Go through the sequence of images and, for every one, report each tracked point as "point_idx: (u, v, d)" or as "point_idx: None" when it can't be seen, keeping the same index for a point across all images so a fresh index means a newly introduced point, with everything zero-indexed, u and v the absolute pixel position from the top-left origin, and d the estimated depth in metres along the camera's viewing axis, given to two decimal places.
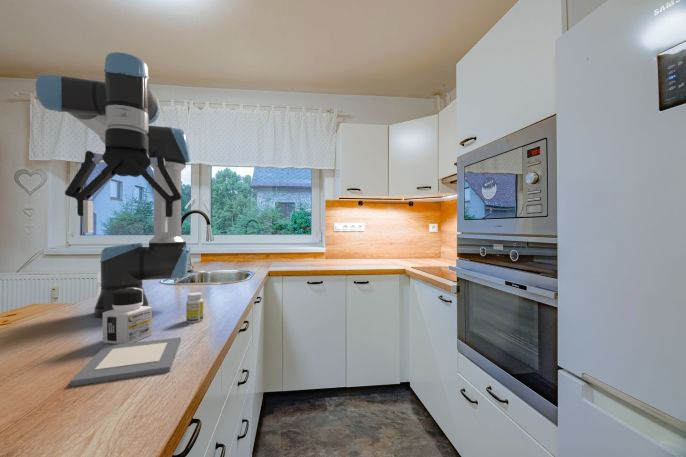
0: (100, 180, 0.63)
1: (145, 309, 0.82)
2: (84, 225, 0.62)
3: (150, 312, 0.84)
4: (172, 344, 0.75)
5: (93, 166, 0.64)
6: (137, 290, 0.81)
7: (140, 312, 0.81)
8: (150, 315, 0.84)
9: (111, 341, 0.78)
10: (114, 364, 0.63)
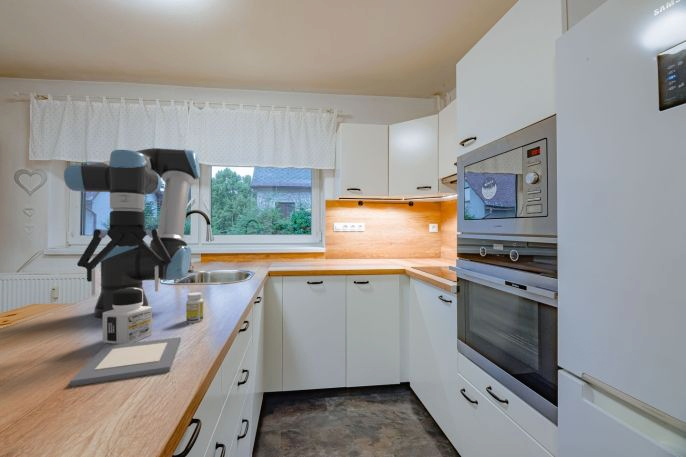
0: (105, 252, 0.78)
1: (145, 309, 0.82)
2: (92, 289, 0.77)
3: (150, 312, 0.84)
4: (172, 344, 0.75)
5: (99, 240, 0.79)
6: (137, 290, 0.81)
7: (140, 312, 0.81)
8: (150, 315, 0.84)
9: (111, 341, 0.78)
10: (114, 364, 0.63)
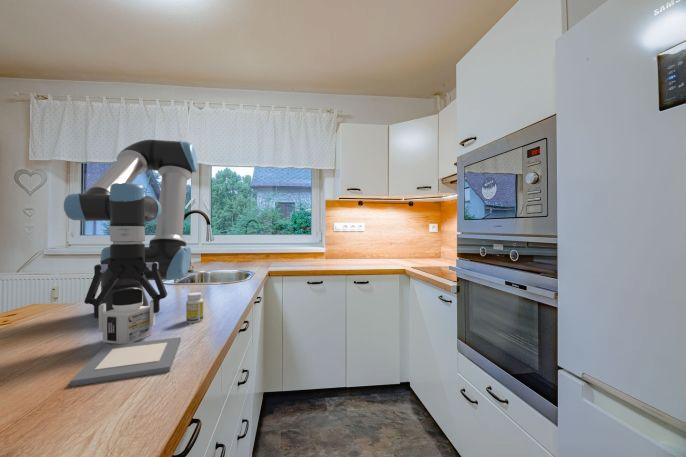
0: (109, 287, 0.79)
1: (145, 309, 0.82)
2: (99, 326, 0.78)
3: None
4: (172, 344, 0.75)
5: (101, 274, 0.79)
6: (137, 290, 0.81)
7: (140, 312, 0.81)
8: None
9: (111, 341, 0.78)
10: (114, 364, 0.63)
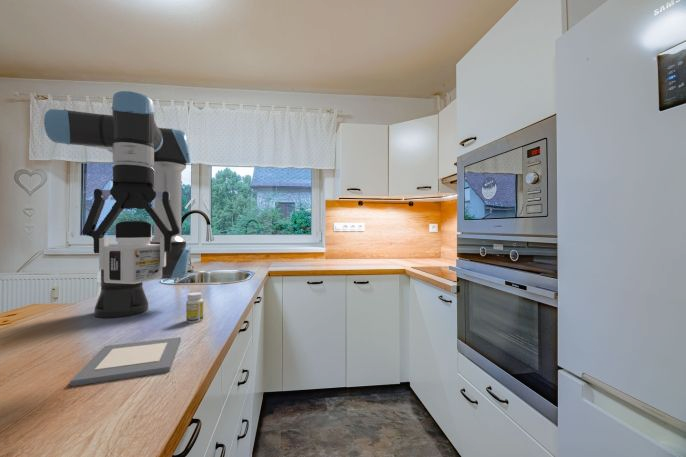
0: (112, 216, 0.66)
1: (154, 246, 0.69)
2: (100, 262, 0.65)
3: None
4: (172, 344, 0.75)
5: (103, 202, 0.66)
6: (145, 222, 0.68)
7: (149, 248, 0.67)
8: None
9: (114, 280, 0.65)
10: (114, 364, 0.63)
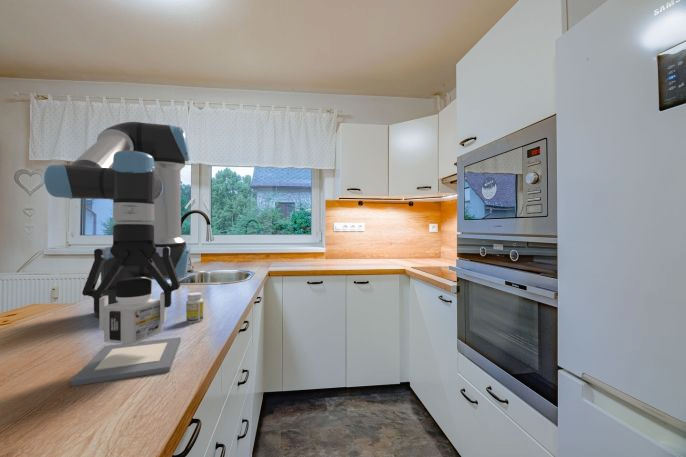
0: (112, 275, 0.66)
1: (155, 302, 0.69)
2: (100, 322, 0.65)
3: None
4: (172, 344, 0.75)
5: (103, 261, 0.66)
6: (145, 279, 0.68)
7: (149, 306, 0.67)
8: None
9: (114, 340, 0.65)
10: (114, 364, 0.63)
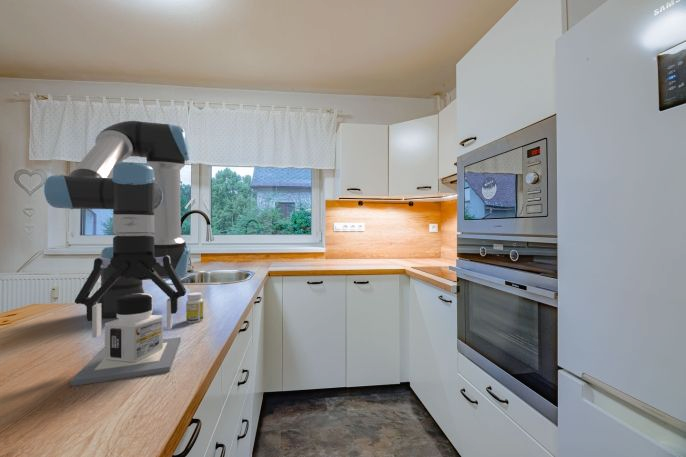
0: (108, 285, 0.66)
1: (155, 319, 0.69)
2: (93, 330, 0.64)
3: (161, 322, 0.71)
4: (172, 344, 0.75)
5: (101, 270, 0.66)
6: (146, 296, 0.68)
7: (149, 323, 0.68)
8: (161, 326, 0.71)
9: (115, 358, 0.65)
10: (114, 364, 0.63)
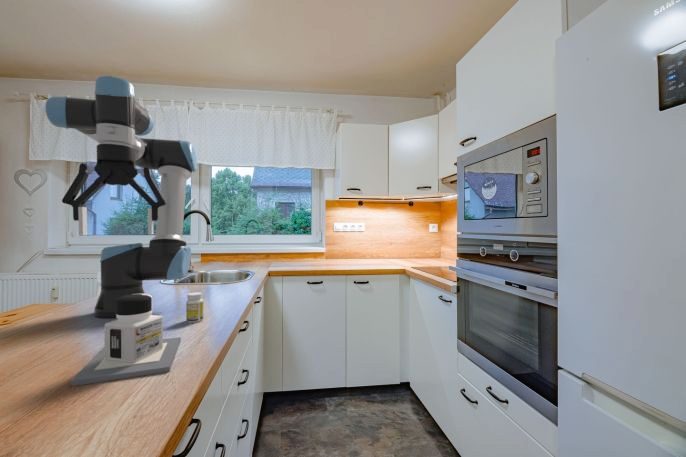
0: (93, 189, 0.72)
1: (155, 319, 0.69)
2: (79, 229, 0.71)
3: (161, 322, 0.71)
4: (172, 344, 0.75)
5: (86, 176, 0.73)
6: (146, 297, 0.68)
7: (149, 323, 0.67)
8: (161, 326, 0.71)
9: (115, 358, 0.65)
10: (114, 364, 0.63)
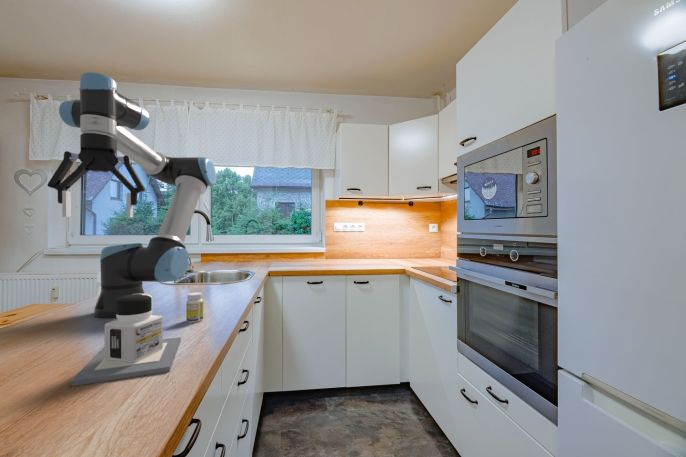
0: (76, 174, 0.79)
1: (155, 319, 0.69)
2: (63, 210, 0.78)
3: (161, 322, 0.71)
4: (172, 344, 0.75)
5: (70, 163, 0.79)
6: (146, 297, 0.68)
7: (149, 323, 0.67)
8: (161, 326, 0.71)
9: (115, 358, 0.65)
10: (114, 364, 0.63)
